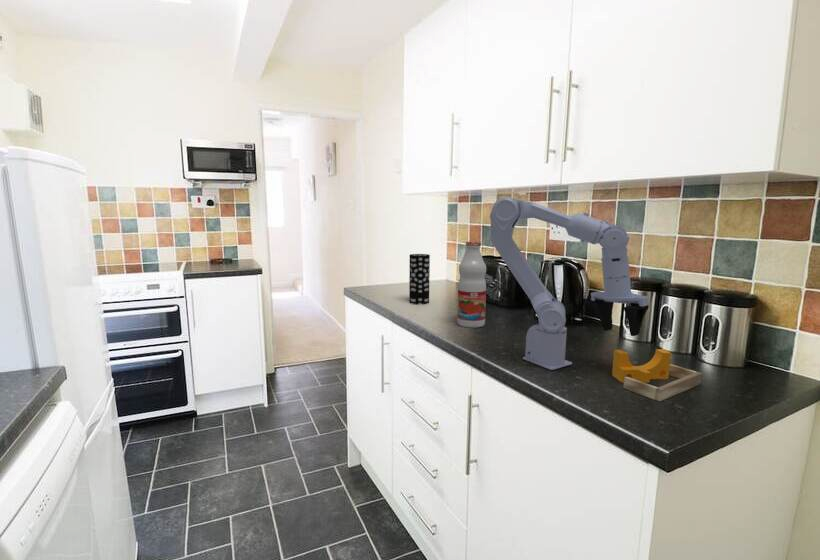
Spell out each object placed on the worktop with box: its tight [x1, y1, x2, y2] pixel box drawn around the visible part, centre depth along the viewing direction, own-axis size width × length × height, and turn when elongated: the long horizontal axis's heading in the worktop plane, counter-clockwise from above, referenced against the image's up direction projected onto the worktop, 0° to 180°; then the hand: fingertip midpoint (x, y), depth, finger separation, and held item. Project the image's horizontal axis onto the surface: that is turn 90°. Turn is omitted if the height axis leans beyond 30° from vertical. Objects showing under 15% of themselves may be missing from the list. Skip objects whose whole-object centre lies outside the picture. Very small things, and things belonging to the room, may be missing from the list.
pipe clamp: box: [611, 348, 672, 384], centre depth 99 cm, size 12×4×6 cm, turn 93°
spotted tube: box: [408, 253, 431, 305], centre depth 177 cm, size 8×8×20 cm
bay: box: [623, 363, 703, 402], centre depth 95 cm, size 8×17×2 cm, turn 122°
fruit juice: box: [456, 241, 487, 329], centre depth 143 cm, size 9×9×28 cm
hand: (621, 332), depth 102 cm, fingers open, 7 cm apart
